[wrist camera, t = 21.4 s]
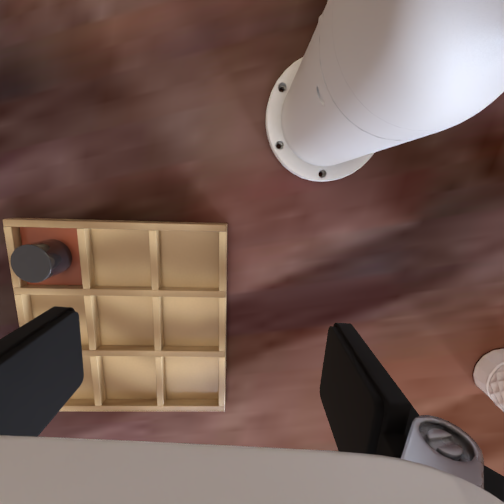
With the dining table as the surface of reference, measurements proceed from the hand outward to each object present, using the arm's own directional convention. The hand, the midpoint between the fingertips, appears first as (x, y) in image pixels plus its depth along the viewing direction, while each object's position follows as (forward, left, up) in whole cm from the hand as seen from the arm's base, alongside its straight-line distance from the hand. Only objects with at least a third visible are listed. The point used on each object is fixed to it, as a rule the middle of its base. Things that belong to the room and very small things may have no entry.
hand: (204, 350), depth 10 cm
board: (+9, -12, -22) cm, 27 cm away
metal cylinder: (+2, -20, -22) cm, 29 cm away
